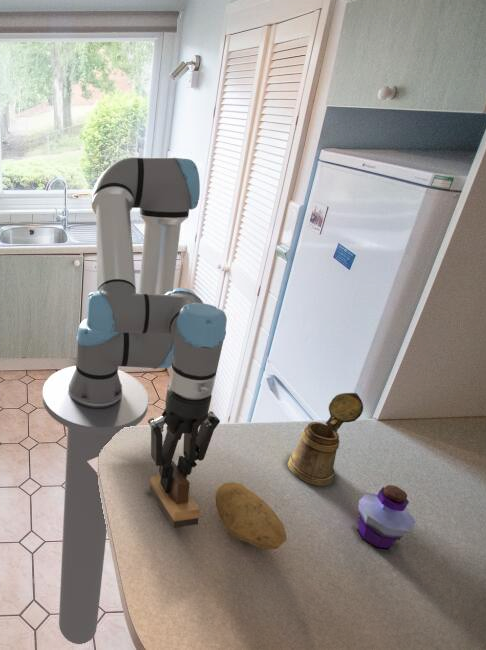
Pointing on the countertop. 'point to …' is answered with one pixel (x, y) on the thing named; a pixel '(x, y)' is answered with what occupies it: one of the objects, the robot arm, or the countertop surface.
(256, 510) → the potato
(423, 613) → the countertop surface
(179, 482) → the brush
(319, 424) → the wooden mug
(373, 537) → the potion bottle
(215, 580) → the countertop surface
